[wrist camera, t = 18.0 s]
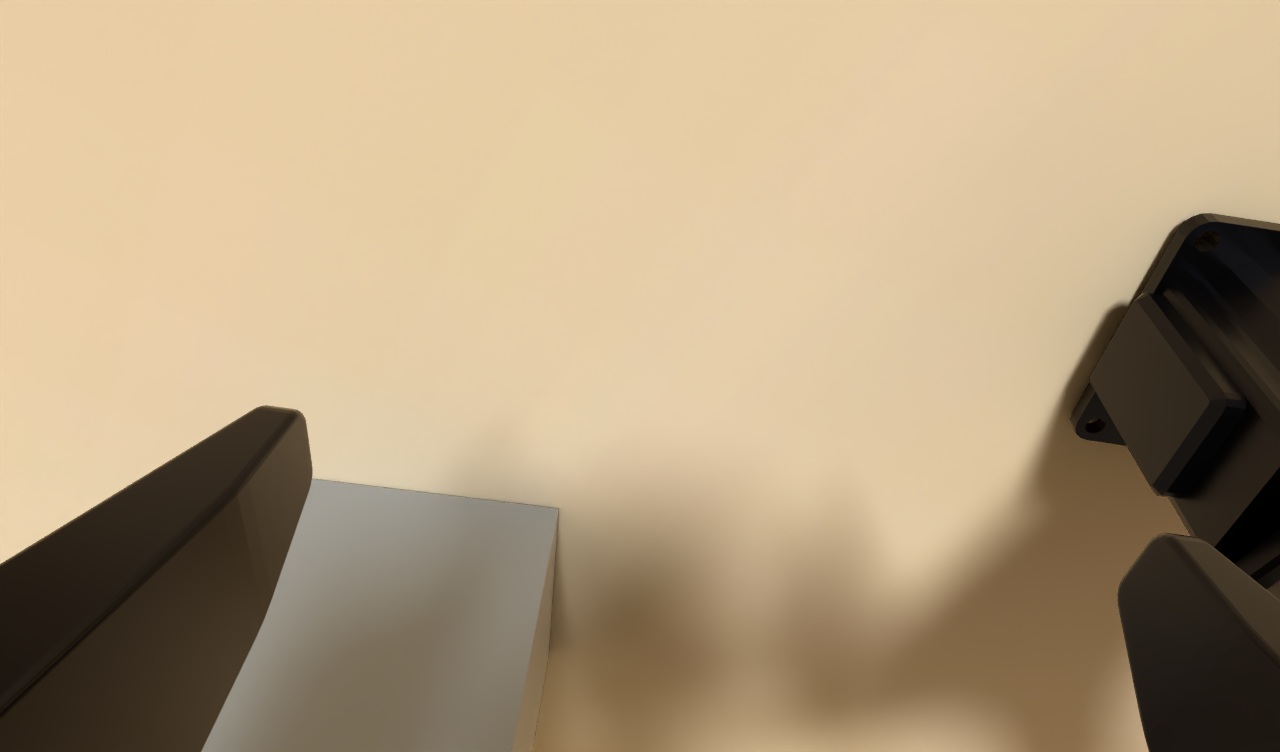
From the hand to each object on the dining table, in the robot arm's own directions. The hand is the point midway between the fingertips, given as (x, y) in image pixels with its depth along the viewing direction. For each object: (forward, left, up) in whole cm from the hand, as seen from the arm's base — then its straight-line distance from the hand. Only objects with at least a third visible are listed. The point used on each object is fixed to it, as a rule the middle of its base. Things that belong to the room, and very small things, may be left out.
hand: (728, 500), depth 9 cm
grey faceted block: (+6, +17, -12) cm, 22 cm away
